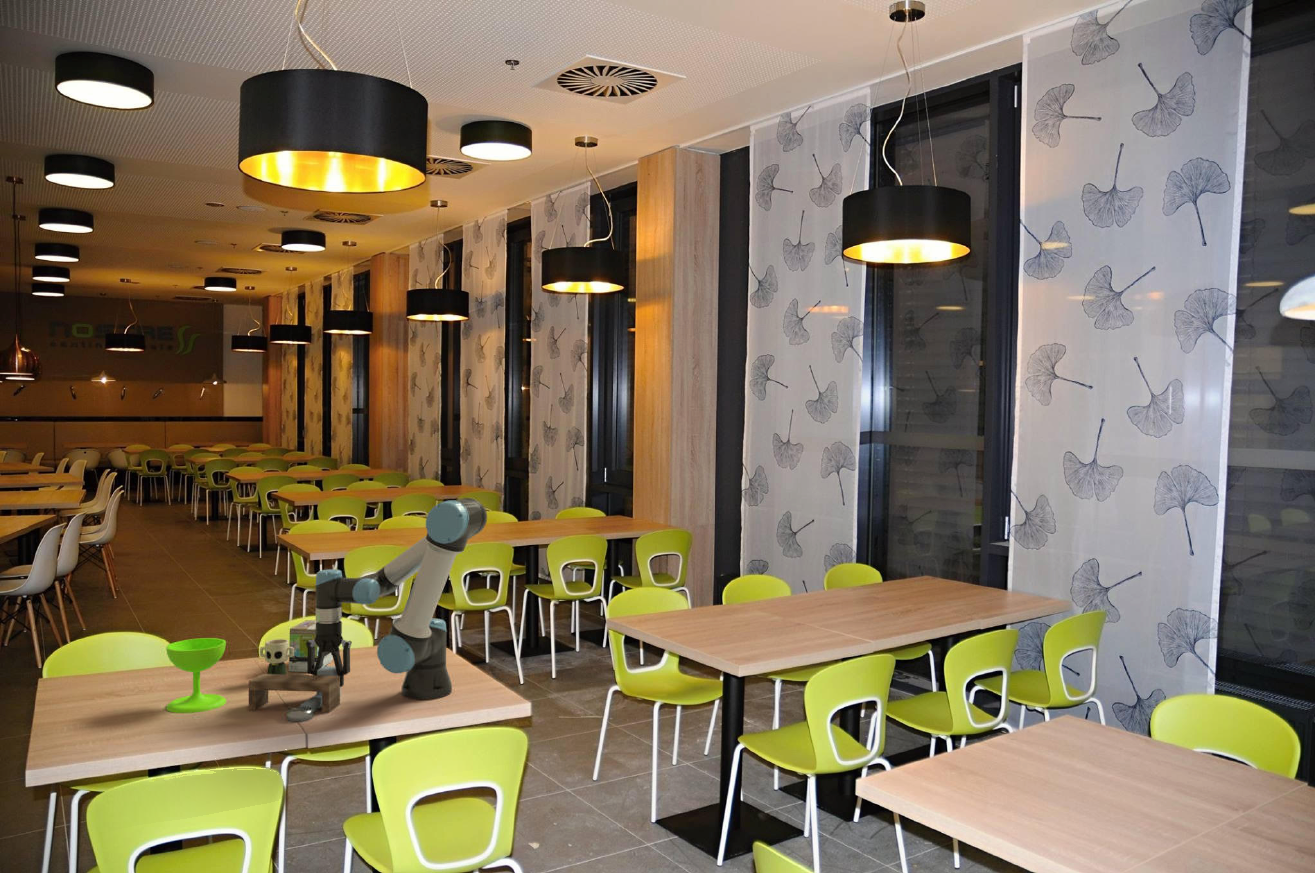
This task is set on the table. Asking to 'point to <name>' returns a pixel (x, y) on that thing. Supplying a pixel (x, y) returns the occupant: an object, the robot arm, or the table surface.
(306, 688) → the shelf
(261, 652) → the character mug
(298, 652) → the tea box
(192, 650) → the wineglass
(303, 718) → the token
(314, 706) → the push stick
